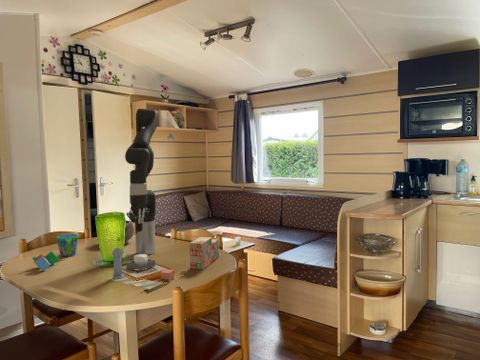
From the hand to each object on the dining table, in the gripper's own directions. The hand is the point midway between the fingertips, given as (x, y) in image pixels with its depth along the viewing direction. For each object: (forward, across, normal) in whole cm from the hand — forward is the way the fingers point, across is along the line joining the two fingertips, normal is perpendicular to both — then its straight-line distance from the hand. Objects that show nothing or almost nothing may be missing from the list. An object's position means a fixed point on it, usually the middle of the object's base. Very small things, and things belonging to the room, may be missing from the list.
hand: (139, 231), depth 168 cm
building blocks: (+18, +19, -40) cm, 48 cm away
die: (+17, +5, +21) cm, 27 cm away
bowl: (+19, -30, -49) cm, 60 cm away
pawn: (+16, +15, +3) cm, 22 cm away
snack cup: (+19, 0, -51) cm, 55 cm away
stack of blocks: (+18, -24, +19) cm, 35 cm away
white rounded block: (+16, 0, +1) cm, 16 cm away
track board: (+17, +15, +12) cm, 26 cm away
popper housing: (+18, 0, +1) cm, 18 cm away
